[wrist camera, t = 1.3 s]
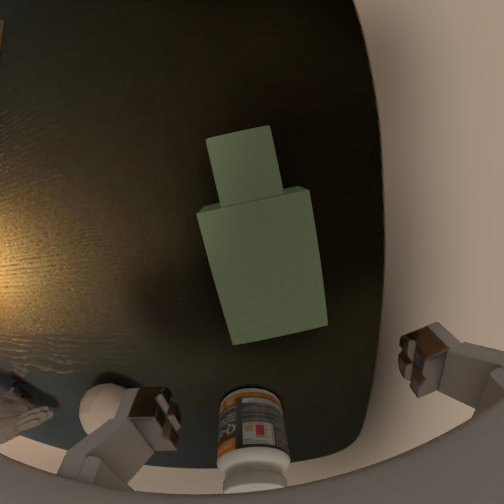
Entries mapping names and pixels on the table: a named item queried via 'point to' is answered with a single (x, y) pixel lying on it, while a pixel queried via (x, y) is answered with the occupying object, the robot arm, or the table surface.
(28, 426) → the bird
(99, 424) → the light bulb
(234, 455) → the pill bottle
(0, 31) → the sand pad
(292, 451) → the table surface
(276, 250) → the sage pad
